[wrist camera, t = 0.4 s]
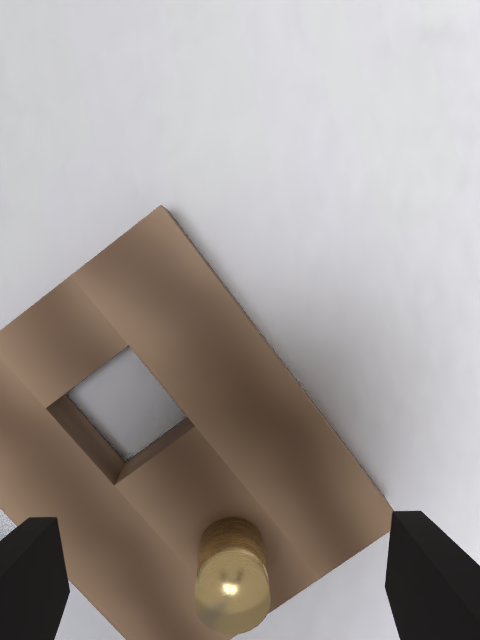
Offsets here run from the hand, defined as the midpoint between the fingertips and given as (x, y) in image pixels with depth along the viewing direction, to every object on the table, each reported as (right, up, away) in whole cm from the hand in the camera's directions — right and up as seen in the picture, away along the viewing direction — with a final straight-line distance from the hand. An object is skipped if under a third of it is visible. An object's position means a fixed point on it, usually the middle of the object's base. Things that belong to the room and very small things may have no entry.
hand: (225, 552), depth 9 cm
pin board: (-3, -1, +11) cm, 12 cm away
